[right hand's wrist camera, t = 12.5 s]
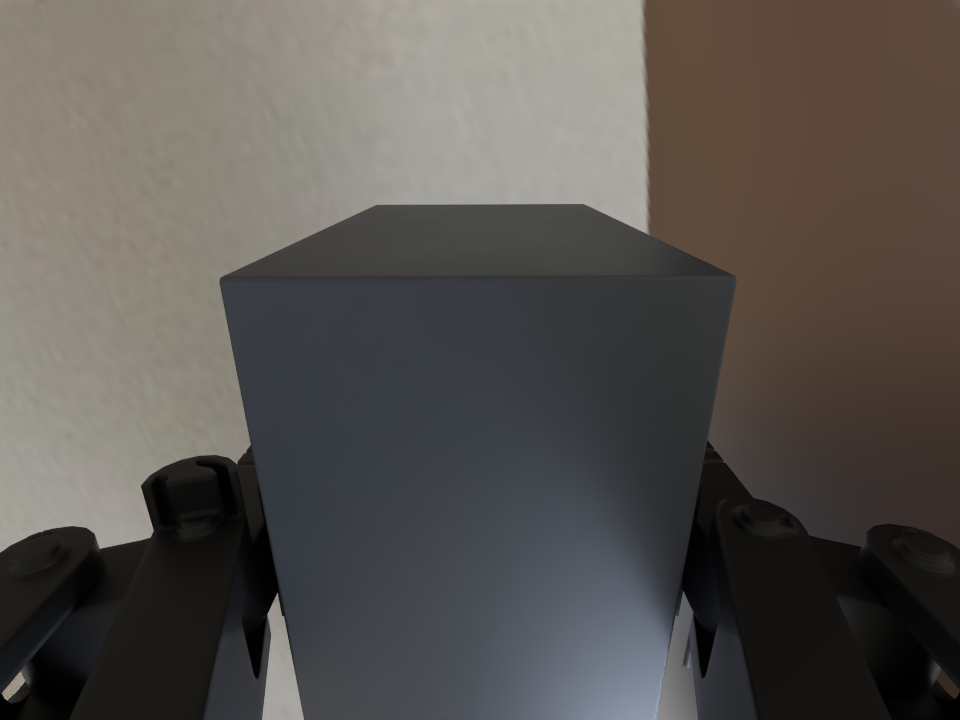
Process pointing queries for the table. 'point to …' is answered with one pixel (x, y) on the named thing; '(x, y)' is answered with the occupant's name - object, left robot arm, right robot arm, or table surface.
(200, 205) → the table surface
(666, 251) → the post
